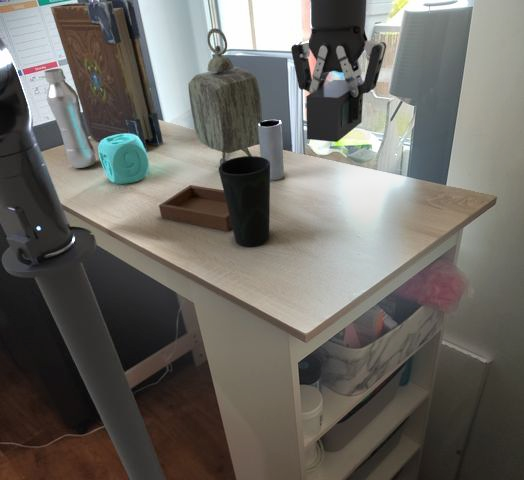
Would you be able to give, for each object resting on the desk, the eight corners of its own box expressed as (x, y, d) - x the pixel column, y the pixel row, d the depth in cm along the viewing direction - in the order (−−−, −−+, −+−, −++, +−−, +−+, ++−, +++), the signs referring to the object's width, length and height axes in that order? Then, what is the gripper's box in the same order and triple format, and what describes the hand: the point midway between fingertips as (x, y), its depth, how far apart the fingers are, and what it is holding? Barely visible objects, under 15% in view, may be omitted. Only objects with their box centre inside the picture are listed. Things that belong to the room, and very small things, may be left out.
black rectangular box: (338, 142, 70) (339, 97, 66) (306, 139, 72) (306, 96, 69) (362, 122, 77) (364, 80, 73) (333, 120, 79) (333, 79, 75)
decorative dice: (138, 167, 108) (129, 130, 103) (152, 176, 103) (143, 138, 98) (105, 177, 105) (93, 140, 100) (118, 187, 100) (106, 148, 95)
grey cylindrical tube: (259, 180, 96) (254, 126, 89) (266, 171, 99) (262, 119, 93) (280, 181, 95) (276, 127, 88) (287, 172, 98) (284, 119, 91)
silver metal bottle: (77, 161, 115) (45, 68, 102) (103, 160, 114) (74, 66, 101) (65, 171, 110) (30, 74, 97) (92, 170, 109) (60, 72, 96)
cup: (239, 255, 74) (229, 179, 66) (222, 235, 79) (211, 163, 71) (283, 242, 76) (278, 167, 68) (264, 223, 81) (257, 152, 73)
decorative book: (163, 143, 120) (132, -3, 100) (141, 152, 116) (104, 2, 96) (108, 132, 132) (70, -1, 112) (87, 140, 128) (44, 4, 109)
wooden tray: (227, 231, 80) (225, 217, 79) (161, 218, 87) (158, 205, 85) (256, 208, 86) (255, 194, 85) (192, 197, 93) (190, 184, 91)
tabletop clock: (266, 165, 102) (254, 27, 86) (230, 177, 99) (211, 35, 82) (231, 150, 112) (215, 22, 95) (198, 160, 108) (175, 30, 92)
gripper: (277, -10, 63) (283, 124, 74) (381, -16, 57) (371, 132, 68) (302, -17, 68) (305, 111, 79) (400, -22, 62) (388, 117, 73)
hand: (335, 120), depth 74 cm, fingers closed on black rectangular box, 5 cm apart
